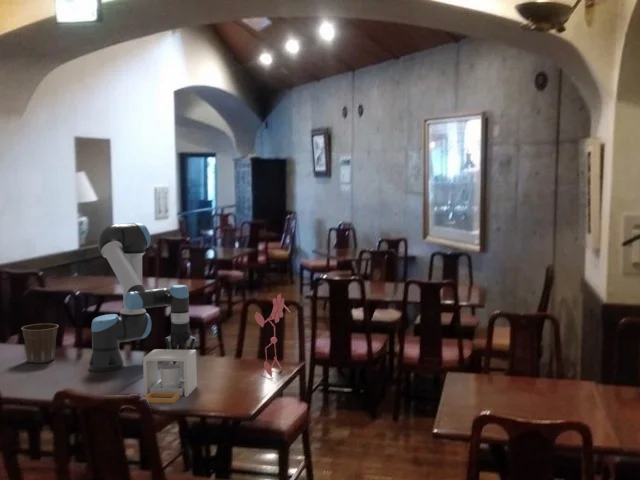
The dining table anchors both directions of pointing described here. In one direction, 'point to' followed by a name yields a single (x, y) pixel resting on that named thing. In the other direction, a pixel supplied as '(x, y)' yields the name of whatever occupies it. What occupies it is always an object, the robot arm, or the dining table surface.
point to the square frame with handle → (170, 390)
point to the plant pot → (40, 342)
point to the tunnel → (170, 355)
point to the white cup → (170, 376)
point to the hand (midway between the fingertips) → (181, 377)
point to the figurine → (275, 314)
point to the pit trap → (162, 397)
